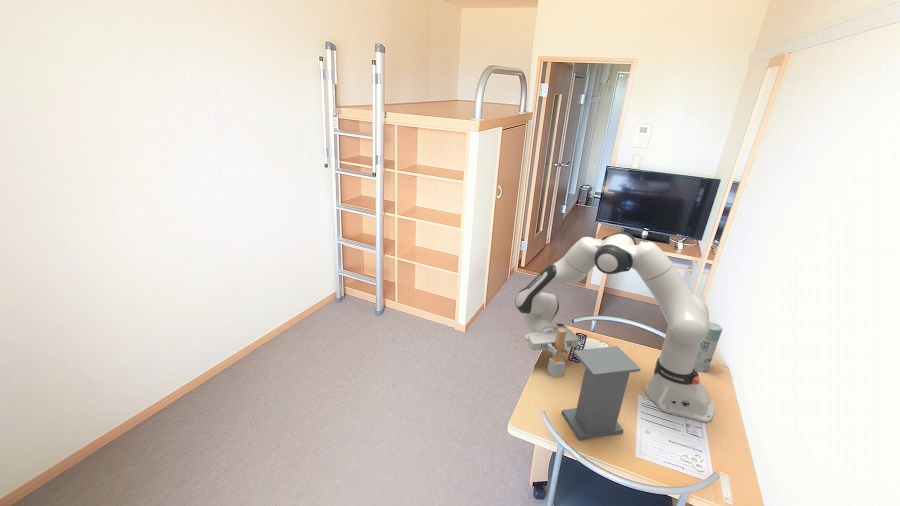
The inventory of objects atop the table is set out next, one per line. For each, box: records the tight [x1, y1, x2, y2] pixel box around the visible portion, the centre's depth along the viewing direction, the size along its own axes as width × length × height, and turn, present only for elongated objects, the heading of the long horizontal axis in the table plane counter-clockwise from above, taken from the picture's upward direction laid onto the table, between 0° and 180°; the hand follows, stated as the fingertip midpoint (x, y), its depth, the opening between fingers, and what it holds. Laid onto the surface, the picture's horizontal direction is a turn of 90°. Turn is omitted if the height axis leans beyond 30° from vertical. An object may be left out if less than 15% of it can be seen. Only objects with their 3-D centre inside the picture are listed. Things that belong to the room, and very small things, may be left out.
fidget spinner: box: [679, 453, 705, 473], centre depth 127 cm, size 7×6×1 cm
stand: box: [561, 345, 641, 441], centre depth 135 cm, size 12×16×26 cm
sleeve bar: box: [546, 328, 566, 378], centre depth 160 cm, size 20×5×4 cm
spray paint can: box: [694, 321, 723, 373], centre depth 168 cm, size 6×6×20 cm
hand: (561, 352), depth 157 cm, fingers open, 2 cm apart
